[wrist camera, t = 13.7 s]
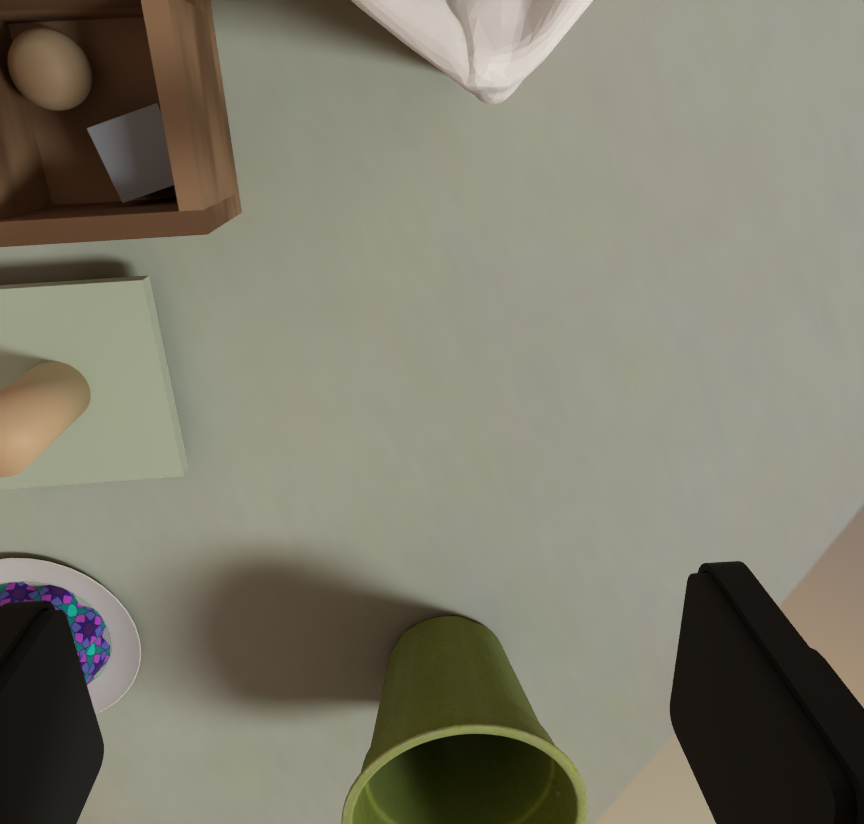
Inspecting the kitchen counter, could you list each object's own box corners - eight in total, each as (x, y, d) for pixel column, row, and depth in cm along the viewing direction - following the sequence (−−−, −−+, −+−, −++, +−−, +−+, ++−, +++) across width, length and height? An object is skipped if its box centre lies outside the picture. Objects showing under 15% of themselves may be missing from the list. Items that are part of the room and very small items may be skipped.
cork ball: (20, 33, 29) (-18, 24, 27) (94, 30, 29) (64, 20, 27) (39, 112, 30) (4, 112, 28) (110, 109, 31) (83, 107, 28)
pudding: (33, 741, 45) (-9, 816, 40) (-114, 612, 41) (-181, 678, 36) (186, 658, 43) (161, 726, 39) (49, 514, 39) (1, 570, 34)
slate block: (113, 127, 31) (86, 128, 28) (177, 104, 31) (157, 103, 28) (145, 195, 32) (122, 203, 29) (207, 174, 32) (190, 179, 29)
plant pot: (578, 657, 45) (637, 819, 35) (439, 757, 47) (455, 936, 37) (454, 543, 41) (478, 686, 31) (311, 659, 44) (288, 827, 33)
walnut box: (-9, 3, 30) (-119, -30, 23) (208, -8, 30) (161, -43, 24) (47, 224, 33) (-35, 248, 27) (241, 212, 33) (207, 234, 27)
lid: (-56, 284, 34) (-183, 331, 26) (156, 270, 34) (92, 313, 27) (3, 471, 38) (-93, 559, 30) (193, 457, 38) (146, 540, 30)
